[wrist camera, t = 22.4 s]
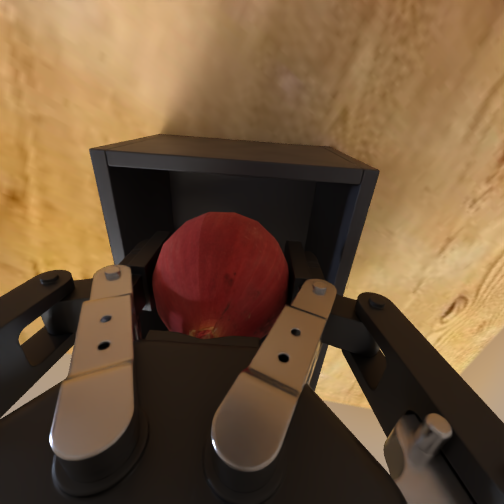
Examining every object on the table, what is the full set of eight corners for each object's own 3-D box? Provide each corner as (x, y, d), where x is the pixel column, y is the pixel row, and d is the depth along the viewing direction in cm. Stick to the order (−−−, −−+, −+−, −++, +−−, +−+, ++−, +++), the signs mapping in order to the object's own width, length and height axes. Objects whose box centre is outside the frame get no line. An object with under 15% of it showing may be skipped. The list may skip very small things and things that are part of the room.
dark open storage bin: (159, 134, 22) (88, 148, 13) (330, 146, 22) (380, 170, 13) (175, 300, 30) (139, 380, 21) (298, 309, 30) (314, 391, 21)
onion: (303, 244, 15) (344, 366, 8) (233, 299, 17) (214, 436, 10) (228, 168, 13) (190, 236, 6) (159, 240, 15) (68, 358, 8)
